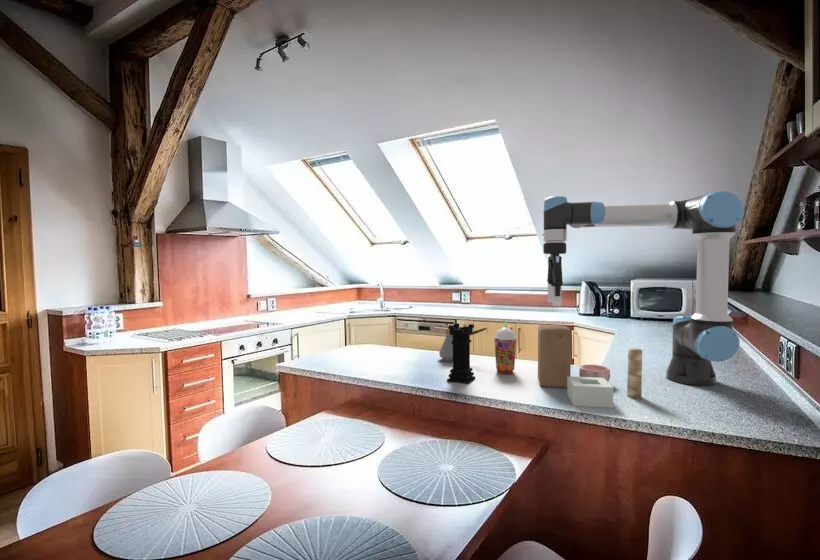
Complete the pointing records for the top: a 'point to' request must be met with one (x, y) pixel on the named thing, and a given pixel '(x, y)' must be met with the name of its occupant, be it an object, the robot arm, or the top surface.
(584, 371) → the mug
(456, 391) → the top surface
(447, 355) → the coffee pot
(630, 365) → the birch peg
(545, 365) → the wooden block
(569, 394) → the socket block
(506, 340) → the smoothie
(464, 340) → the chess piece
